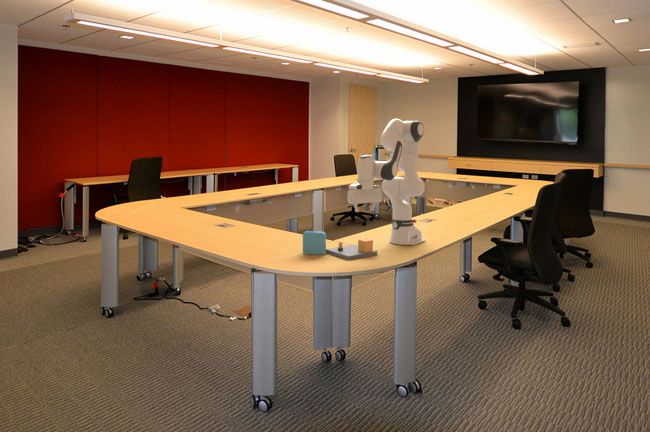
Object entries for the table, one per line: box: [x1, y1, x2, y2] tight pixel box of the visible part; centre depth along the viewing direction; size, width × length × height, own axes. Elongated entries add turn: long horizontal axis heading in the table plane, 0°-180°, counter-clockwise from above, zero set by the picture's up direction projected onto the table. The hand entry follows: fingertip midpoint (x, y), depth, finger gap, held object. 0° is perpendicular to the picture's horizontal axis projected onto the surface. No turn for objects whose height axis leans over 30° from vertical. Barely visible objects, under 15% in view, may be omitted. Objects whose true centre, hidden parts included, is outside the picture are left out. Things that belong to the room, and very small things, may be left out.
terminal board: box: [324, 241, 378, 261], centre depth 279 cm, size 20×20×6 cm
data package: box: [302, 230, 327, 256], centre depth 278 cm, size 12×4×12 cm, turn 80°
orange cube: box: [357, 238, 374, 252], centre depth 276 cm, size 6×6×6 cm
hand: (364, 211), depth 275 cm, fingers open, 8 cm apart
